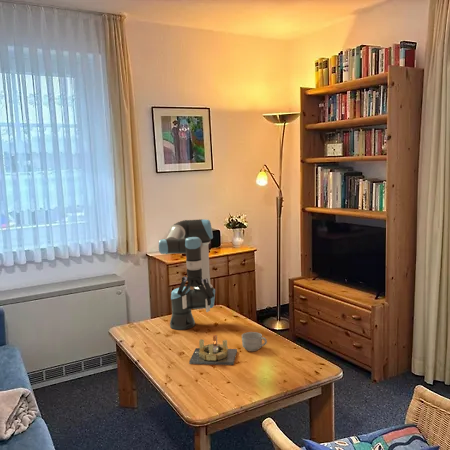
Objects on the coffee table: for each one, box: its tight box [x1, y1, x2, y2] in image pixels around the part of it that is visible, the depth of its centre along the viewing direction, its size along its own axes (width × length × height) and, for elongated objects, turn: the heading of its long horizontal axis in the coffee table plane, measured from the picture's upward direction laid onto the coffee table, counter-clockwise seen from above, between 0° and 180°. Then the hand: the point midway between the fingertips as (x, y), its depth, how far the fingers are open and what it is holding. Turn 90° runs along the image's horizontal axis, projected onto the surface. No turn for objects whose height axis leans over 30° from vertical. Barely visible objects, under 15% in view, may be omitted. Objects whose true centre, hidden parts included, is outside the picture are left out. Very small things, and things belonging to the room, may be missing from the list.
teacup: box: [241, 331, 268, 352], centre depth 251 cm, size 14×11×8 cm
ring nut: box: [198, 334, 229, 361], centre depth 243 cm, size 14×14×8 cm
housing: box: [188, 346, 238, 366], centre depth 244 cm, size 16×22×6 cm
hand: (196, 309), depth 240 cm, fingers open, 13 cm apart
